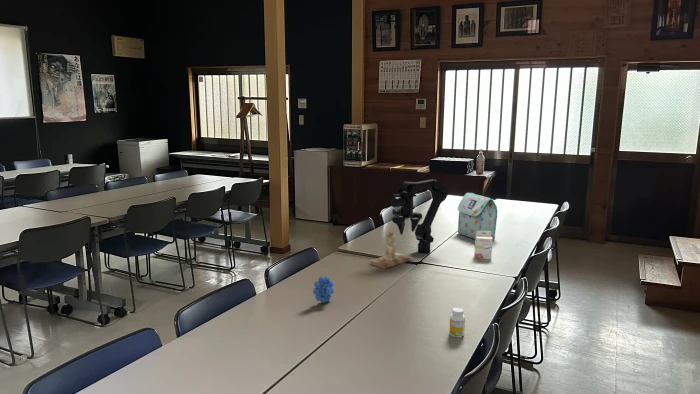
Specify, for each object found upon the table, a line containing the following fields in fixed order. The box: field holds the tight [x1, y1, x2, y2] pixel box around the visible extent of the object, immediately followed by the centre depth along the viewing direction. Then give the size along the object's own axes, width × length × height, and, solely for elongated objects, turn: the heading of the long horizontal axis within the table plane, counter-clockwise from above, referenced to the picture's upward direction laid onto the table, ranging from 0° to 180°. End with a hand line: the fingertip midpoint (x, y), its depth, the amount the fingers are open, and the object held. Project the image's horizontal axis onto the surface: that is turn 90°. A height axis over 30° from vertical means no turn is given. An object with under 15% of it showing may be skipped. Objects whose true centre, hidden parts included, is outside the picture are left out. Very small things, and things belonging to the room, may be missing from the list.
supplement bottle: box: [449, 307, 466, 338], centre depth 186 cm, size 5×5×10 cm
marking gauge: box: [382, 232, 398, 261], centre depth 267 cm, size 5×6×14 cm
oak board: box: [370, 252, 411, 269], centre depth 269 cm, size 20×10×2 cm, turn 132°
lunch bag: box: [457, 192, 498, 240], centre depth 317 cm, size 23×16×27 cm
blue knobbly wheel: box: [312, 276, 335, 304], centre depth 214 cm, size 12×7×12 cm, turn 138°
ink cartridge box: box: [473, 231, 494, 260], centre depth 275 cm, size 9×5×15 cm, turn 84°
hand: (407, 233), depth 278 cm, fingers open, 9 cm apart
